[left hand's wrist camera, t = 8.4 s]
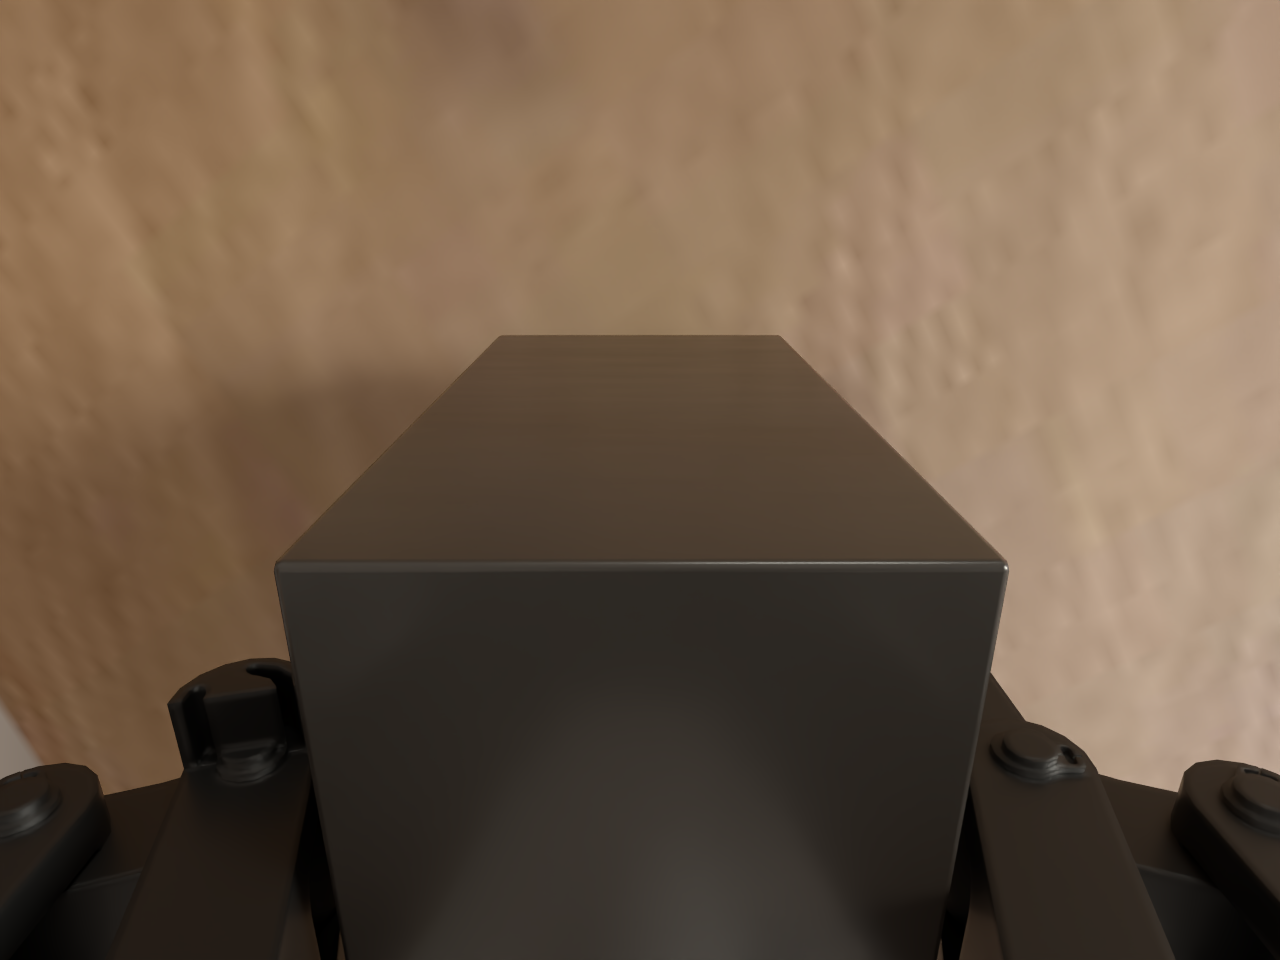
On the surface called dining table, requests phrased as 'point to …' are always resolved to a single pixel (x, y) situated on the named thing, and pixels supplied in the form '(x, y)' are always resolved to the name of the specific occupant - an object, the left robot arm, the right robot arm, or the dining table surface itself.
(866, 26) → the dining table surface
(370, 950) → the beam
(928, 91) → the dining table surface
